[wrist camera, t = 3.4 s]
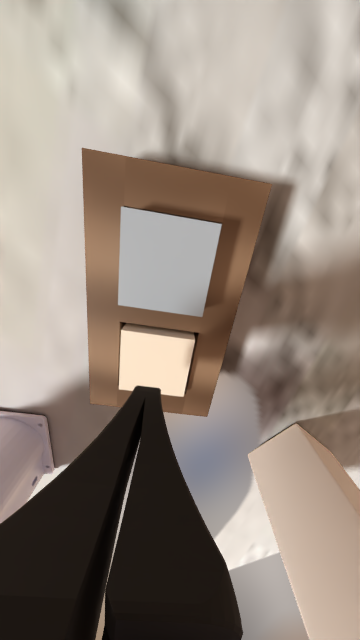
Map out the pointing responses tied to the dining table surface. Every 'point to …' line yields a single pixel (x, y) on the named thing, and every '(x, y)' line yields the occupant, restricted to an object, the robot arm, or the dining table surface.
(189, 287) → the grey flat square block
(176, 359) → the cream key
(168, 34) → the dining table surface
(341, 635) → the milk carton
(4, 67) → the dining table surface
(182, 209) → the key block
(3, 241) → the dining table surface
